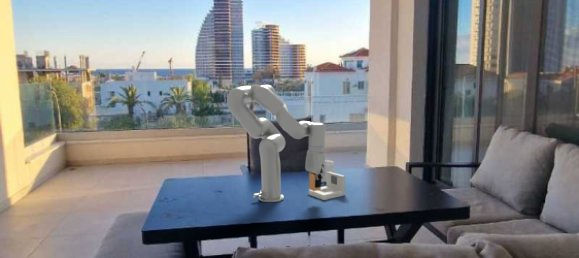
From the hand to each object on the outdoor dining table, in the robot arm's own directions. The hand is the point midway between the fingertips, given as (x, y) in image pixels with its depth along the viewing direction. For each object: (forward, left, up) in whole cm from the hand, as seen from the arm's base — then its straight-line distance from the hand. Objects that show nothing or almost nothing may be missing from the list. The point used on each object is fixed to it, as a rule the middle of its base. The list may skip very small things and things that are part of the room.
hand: (314, 185), depth 213 cm
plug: (0, 0, -2) cm, 2 cm away
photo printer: (+29, +26, -9) cm, 40 cm away
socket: (+12, +6, -8) cm, 16 cm away
